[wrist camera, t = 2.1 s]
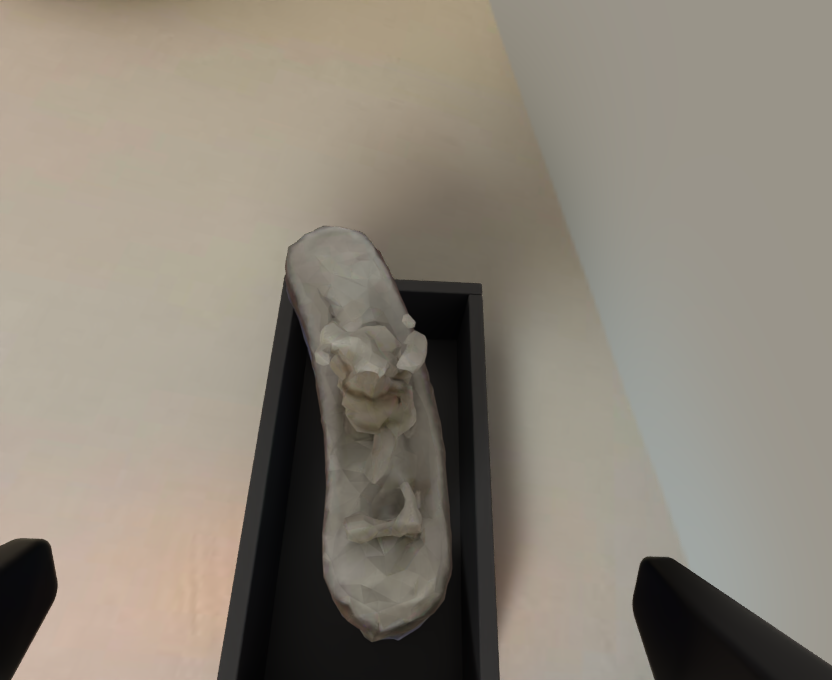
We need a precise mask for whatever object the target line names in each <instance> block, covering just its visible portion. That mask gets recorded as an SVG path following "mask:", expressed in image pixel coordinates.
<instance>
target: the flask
mask: <svg viewBox="0 0 832 680" xmlns="http://www.w3.org/2000/svg"><path fill="white" fill-rule="evenodd" d="M285 271H286V277H285V281H286V291H287V294H288V298H289V301H290V303H291V304H292V306H293V308H294V310H295V312H296V314H297V317H298V319H299V322H300V325H301V328H302V332H303V336H304V340H305V342H306V345H307V348H308V352H309V355H310V359H311V364H312V368H313V370H314V374H315V379H316V389H317V395H318V401H319V407H320V413H321V423H322V427H323V432H324V446H325V473H326V497H325V509H324V520H323V532H322V554H323V577H324V579H325V581H326V584H327V586H328V588H329V591H330V593H331V595H332V599H333V601H334V602H335V604H336V606H337V608H338V609H339V611H340V613H341V615H342V616H343V617H344V618H345V619H346V620H347V621H348V622H350V623H351V624H352V625H354V626H355V627H357V628H358V629H360V631H361V632H362V634H363V635H364V637H365V638H366V639H368V640H369V641H371V642H374V641H378V640H381V639H395V640H400V639H402V638H403V637H405V636H407V635H408V634H410V633H411V632H413V631H415V630H416V629H418V628H419V627H420V626H421V625H422V624H423V623H424V622H425V621H426V620H427V619H428V618H429V617H430V616H431V615H432V614H433V613H435V611H436V610H437V609H438V608H439V606H440V605H441V604H442V602H443V601H444V600H445V594H446V589H447V585H448V582H449V580H450V577H451V573H452V533H451V527H450V505H449V497H448V486H447V475H446V452H445V446H444V442H443V437H442V428H441V421H440V418H439V414H438V410H437V405H436V401H435V396H434V390H433V387H432V385H431V383H430V380H429V372H428V370H427V367H426V364H425V358H426V354H427V340H426V337H425V335H423V334H421V333H419V332H417V331H415V330H414V328H413V327H415V323H416V322H415V321H414V320H413V318H412V317H411V316H410V315H409V314H408V311H407V309H406V307H405V304H404V302H403V300H402V298H401V295H400V293H399V290H398V288H397V285H396V283H395V281H394V279H393V277H392V275H391V273H390V270H389V268H388V267H387V265H386V264H385V262H384V260H383V257H382V255H381V252H380V251H379V250H377V249H376V248H375V247H374V245H373V244H372V242H371V241H370V240H369V239H368V238H367V236H366V235H365V234H363V233H362V232H360V231H356V230H352V229H348V228H343V227H334V226H322V227H320V228H317V229H315V230H314V231H312V232H309V233H306V234H305V235H304V236H302V237H301V238H300V239H299V240H298V241H297V242H296V243H294V244H292V245H291V246H289V247H288V253H287V258H286V264H285Z"/></svg>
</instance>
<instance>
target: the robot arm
mask: <svg viewBox="0 0 832 680" xmlns="http://www.w3.org/2000/svg"><path fill="white" fill-rule="evenodd" d="M57 587H58V583H57V577H56V571H55V566H54V560H53V555H52V550H51V546H50V544H49V543H48V541H46V540H44V539H29V538H20V539H14V540H12V541H10V542H8V543H6V544H3V545H1V546H0V680H11V679H12V677H13V675H14V674H15V672H16V670H17V668H18V666H19V664H20V663H21V661H22V659H23V657H24V655H25V653H26V652H27V650H28V648H29V646H30V644H31V642H32V641H33V639H34V637H35V635H36V633H37V631H38V630H39V628H40V626H41V624H42V622H43V620H44V619H45V617H46V615H47V613H48V611H49V609H50V608H51V606H52V604H53V602H54V600H55V597H56V593H57ZM632 605H633V613H634V617H635V620H636V623H637V626H638V629H639V633H640V636H641V639H642V642H643V645H644V648H645V651H646V654H647V657H648V660H649V663H650V667H651V670H652V673H653V676H654V679H655V680H832V666H831V665H830V664H828V663H827V662H825V661H824V660H822V659H821V658H820V657H818V656H817V655H815V654H813V653H812V652H810V651H809V650H808V649H806V648H804V647H803V646H802V645H800V644H799V643H797V642H796V641H794V640H793V639H791V638H790V637H788V636H787V635H785V634H784V633H782V632H781V631H779V630H778V629H776V628H775V627H773V626H772V625H771V624H769V623H768V622H766V621H765V620H763V619H762V618H760V617H759V616H757V615H756V614H754V613H753V612H751V611H750V610H748V609H747V608H745V607H744V606H742V605H741V604H739V603H738V602H736V601H735V600H733V599H732V598H730V597H729V596H727V595H726V594H724V593H723V592H722V591H720V590H719V589H717V588H715V587H714V586H713V585H711V584H710V583H708V582H707V581H705V580H704V579H702V578H701V577H699V576H698V575H696V574H695V573H693V572H692V571H690V570H689V569H687V568H686V567H684V566H683V565H681V564H680V563H679V562H677V561H676V560H674V559H672V558H669V557H645V558H644V559H643V560H642V561H641V563H640V567H639V571H638V576H637V581H636V585H635V590H634V595H633V604H632Z"/></svg>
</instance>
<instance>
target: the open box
mask: <svg viewBox="0 0 832 680" xmlns="http://www.w3.org/2000/svg"><path fill="white" fill-rule="evenodd" d="M285 277H286V275H285ZM285 277H284V283H283V286H284V287H283V289H282V295H281V301H280V307H279V313H278V319H277V325H276V331H275V337H274V342H273V348H272V354H271V360H270V366H269V372H268V378H267V384H266V390H265V396H264V402H263V408H262V414H261V420H260V426H259V432H258V438H257V444H256V450H255V456H254V462H253V468H252V474H251V480H250V486H249V492H248V498H247V504H246V510H245V516H244V522H243V528H242V534H241V539H240V545H239V551H238V557H237V563H236V569H235V575H234V581H233V587H232V593H231V599H230V605H229V611H228V617H227V623H226V629H225V635H224V641H223V647H222V653H221V659H220V665H219V671H218V677H217V680H500V674H499V652H498V630H497V608H496V586H495V564H494V542H493V520H492V498H491V476H490V454H489V432H488V410H487V388H486V366H485V344H484V322H483V300H482V284H481V283H461V282H439V281H417V280H395V279H394V281H395V283H396V285H397V288H398V290H399V293H400V295H401V298H402V300H403V302H404V304H405V307H406V309H407V311H408V314H409V315H410V316H411V317H412V318H413V320H414V321H415V322H416V323H415V327H413V328H414V330H415V331H417V332H419V333H421V334H423V335H425V337H426V340H427V354H426V358H425V364H426V367H427V370H428V372H429V380H430V383H431V385H432V387H433V390H434V396H435V401H436V405H437V410H438V414H439V418H440V421H441V428H442V437H443V442H444V446H445V452H446V475H447V486H448V497H449V505H450V527H451V533H452V573H451V577H450V580H449V582H448V585H447V589H446V594H445V600H444V601H443V602H442V604H441V605H440V606H439V608H438V609H437V610H436V611H435V613H433V614H432V615H431V616H430V617H429V618H428V619H427V620H426V621H425V622H424V623H423V624H422V625H421V626H420V627H419V628H418V629H416V630H415V631H413V632H411V633H410V634H408V635H407V636H405V637H403V638H402V639H400V640H395V639H381V640H378V641H374V642H371V641H369V640H368V639H366V638H365V637H364V635H363V634H362V632H361V631H360V629H358V628H357V627H355V626H354V625H352V624H351V623H350V622H348V621H347V620H346V619H345V618H344V617H343V616H342V615H341V613H340V611H339V609H338V608H337V606H336V604H335V602H334V601H333V599H332V595H331V593H330V591H329V588H328V586H327V584H326V581H325V579H324V577H323V554H322V532H323V520H324V509H325V497H326V473H325V446H324V432H323V427H322V423H321V413H320V407H319V401H318V395H317V389H316V379H315V374H314V370H313V368H312V364H311V359H310V355H309V352H308V348H307V345H306V342H305V340H304V336H303V332H302V328H301V325H300V322H299V319H298V317H297V314H296V312H295V310H294V308H293V306H292V304H291V303H290V301H289V298H288V294H287V291H286V281H285Z"/></svg>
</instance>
